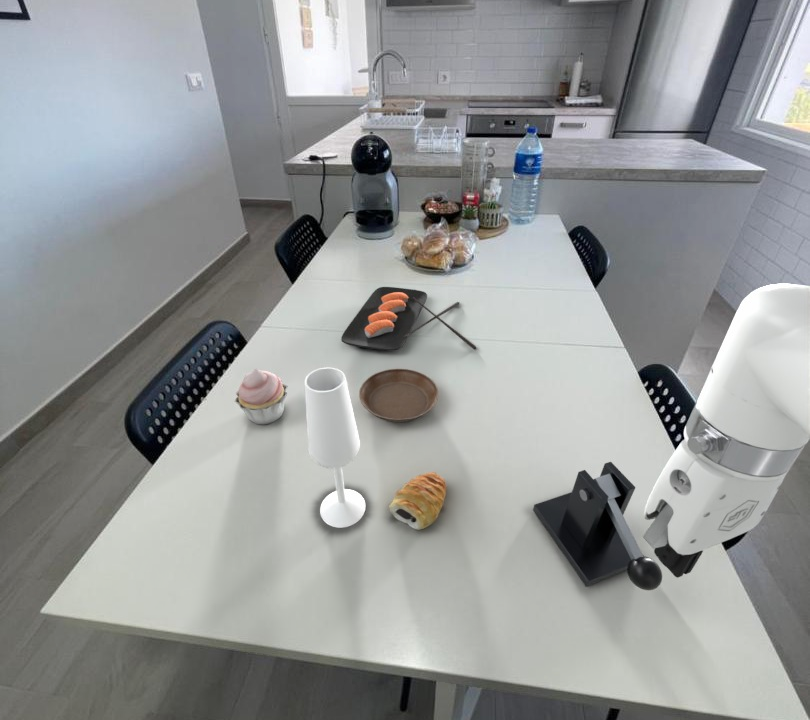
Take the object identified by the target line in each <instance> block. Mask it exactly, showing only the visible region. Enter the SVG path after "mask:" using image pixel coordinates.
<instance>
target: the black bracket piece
mask: <svg viewBox="0 0 810 720" xmlns="http://www.w3.org/2000/svg"><path fill="white" fill-rule="evenodd" d="M607 474H610V475H611V477H612V479H613V481H614V483H615V485H616V487H617V489H618V491H619V493H620V495H621V496H618V497H615V498H614V499H615V501H616V503H617V505H618V507H619V509H620V511H621V513H622V515H623V516H624V514H625V512H626V510H627V508H628V505H629V504H630V501H631V499H632V496H633V494H634V492H635V490H636V486H635V485H634V484H633V482H631V481H630V480H629V479H628V477H626V476H625V475H624V473H622V471H620V469H619V468H618V467H617V466H616V465H615V464H614V463H613V462H612V461H608V462H605V463H604V464H603V467H602V470H601V473H600V475H599V477H601V476H604V475H607ZM593 479H594V478H593V477H592V476H591V475H590V474H589V472H588V471H587V470H586V469H583V470H580V471H578V472H577V475H576V479H575V482H574V485H573V487H572V491H571V492H568V493H564V494H562V495H559V496H555V497H553V498H549V499H547V500H544V501H542V502H537V503H535V504H534V505H533V508H532V511H533V513H534V514H535V516H536V517H537V518H538V520H540V522H541V525H542V526H543V527H544V528H545V530H546V531H547V533H548V534H549V536H550V537H551V539H552V540H553V542H554V543H555V544H556V546H557V547H558V548H559V550H560V551H561V553H562V554H563V555H564V557H565V559H566V560H567V562H568V563H569V564H570V565H571V567H572V568H573V570H574V572H575V573H576V574H577V576H578V578H579V579H580V580H581V582H582V583H583V584H584V586H585V587H588V586H589V587H590V586H591V585H593V584H597V583H599V582H601V581H603V580H607V579H608V578H611V577H614V576H615V575H618V574H621V573H623V572H625V571H627V567H628V564H629V562H630V561H631V558H630V556H629V554H628V552H627V550H626V548H625V546H624V544H623V542H622V540H621V538H620V536H619V534H618V532H617V530H616V528H615V526H614V523H613V521H612V519H611V517H610V515H609V513H608V511H607V509H606V507H605V505H606V502H607V500H608V495H607V494H606V493H605V492H604V491H603V490H602V489H601V487H600V486H599V485H598V484H597V483H596V482H595V481H594V480H593ZM642 555H643V556H645V555H644V554H643V553H642Z"/></svg>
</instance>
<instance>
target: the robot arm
mask: <svg viewBox="0 0 810 720" xmlns="http://www.w3.org/2000/svg"><path fill="white" fill-rule="evenodd" d="M683 437H684V439H682V440H681V442H680V443H679V445H678V446H677V447H676V449H675V450H674V451H673V453H672V455H671V456H670V458H669V459H668V461H667V463H666V464H665V466H664V467H663V469H662V471H661V473H660V474H659V477H658V478H657V480H656V482H655V484H654V486H653V488H652V490H651V492H650V494H649V496H648V498H647V501H646V503H645V506H644V510H643V511H644V512H643V517H644V519H645V520H646V521H647V520H648V521H650V520H653V521H652V522H651V524H650V526H649V527H648V528H647V530H646V531H645V533H644V534H643V535H642V537H643V539H644V540H645V541H646V542H647V543H648V545H650V546H651V548H652V549H654V550H653V553H654V555H655V557H657V558H658V560H659V561H660V563H661V564H662V565H663V566H664V567H666V568H667V570H669V571H670V573H671V574H672V575H673V576H674V577H675V578H676V579H677V578H681V577H683V575H688V574H690V573H691V572H692V571H693V569H694V567H695V566H696V564H697V562H698V560H699V559H700V557H701V555H702V554H703V552H704V550H707V549H710V548H712V547H715V546H718V545H719V544H722V543H724V542H727V541H730V540H732V539H734V538H736V537H738V536H741V535H743V534H746V533H748V532H749V531H751V530H752V529H754V528H755V527H756V526H758V525H759V524H760V522H761V520H762V519H763V517H764V516H765V514H766V512H767V511H768V509H769V507H770V505H771V503H772V502H773V500H774V498H775V497H776V495H777V493H778V491H779V490H780V489H781V486H782V484H783V481H784V480H785V478H786V475H788V472H789V471H790V470H791V468H792V467H793V465H794V463H795V462H796V461H797V459H798V457H799V456H800V455H801V453H802V452H803V450H804V448H805V447H806V445H807V444H808V443H809V441H810V285H802V284H791V283H777V284H769V285H765V286H761V287H759V288H756V289H754V290H752V291H751V292H750V293H749V294H748V295H746V297H744V298H743V299H742V301H741V302H740V304H739V306H738V308H737V310H736V312H735V314H734V316H733V318H732V321H731V323H730V325H729V328H728V330H727V332H726V334H725V337H724V339H723V341H722V343H721V345H720V348H719V350H718V352H717V354H716V357H715V358H714V361H713V363H712V366H711V368H710V370H709V373H708V375H707V377H706V379H705V381H704V384H703V386H702V388H701V391H700V394H699V396H698V397H697V400H696V401H695V404H694V406H693V408H692V410H691V413H690V415H689V418H688V420H687V422H686V424H685V426H684V429H683Z"/></svg>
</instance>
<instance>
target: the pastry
mask: <svg viewBox="0 0 810 720" xmlns="http://www.w3.org/2000/svg"><path fill="white" fill-rule="evenodd" d="M447 487H448V486H447V483H446V481H445V480H444V478H443V477H442V476H440V475H438V474H437V473H436V472H426V473H424V474H418V475H417V476H416V477H415V478H411V479H410V480H409V482H407V483H405V484H404V485H403V486H402V489H400V490H397V491H396V492H395V494H394V496H393V500H392V502H391V503H390V504H389V506H388V510H389V513H391V514H392V516H393V517H394V518H395V519H396V520H398V521H400V522H402V523H404V524H407V525H408V526H409V527H410V528H412V529H413V530H417V531H418V530H423V529H426V528H428V527H429V526H431V525H432V524H434V522H436V520H437V519H438V517H439V514H440V513H441V510H442V509H443V506H444V502H445V498H446V495H447V489H448V488H447Z"/></svg>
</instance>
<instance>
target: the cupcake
mask: <svg viewBox="0 0 810 720" xmlns="http://www.w3.org/2000/svg"><path fill="white" fill-rule="evenodd" d="M243 377H244V378H243V380H242V382H241V383H240V385H239V387H238V390H237V391H236V392H235V395H236V397H235V399H234V403H236V404H237V405H238V407H239V408H240V409H241V410H242V411H243V412H244V413H245V415H246V417H247V418H248V420H249V421H250V422H252V423H254V424H256V425H268V424H272V423H274V422H276V421H278V420H279V419H280V418H281V417H282V415H283V414H284V410H285V401H286V398H287V396H288V392H287V390H288V387H289V385H287V384H283V380H282V379H281V378H280V377H279V376H278V375H276V374H274V373H273V372H271V371H267V370H260V369H258V368H255V369H253V371H250V372H248V373H246V375H244V376H243Z"/></svg>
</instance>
